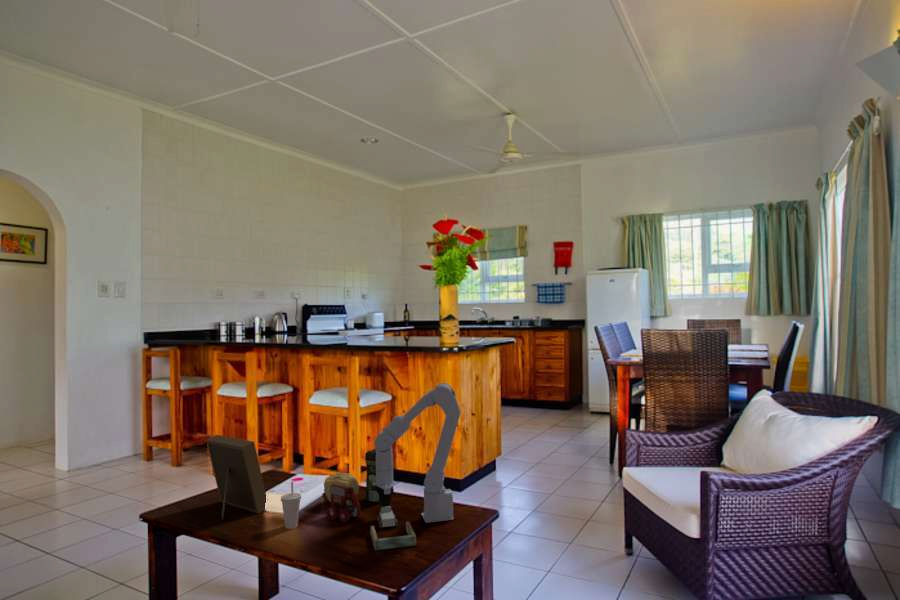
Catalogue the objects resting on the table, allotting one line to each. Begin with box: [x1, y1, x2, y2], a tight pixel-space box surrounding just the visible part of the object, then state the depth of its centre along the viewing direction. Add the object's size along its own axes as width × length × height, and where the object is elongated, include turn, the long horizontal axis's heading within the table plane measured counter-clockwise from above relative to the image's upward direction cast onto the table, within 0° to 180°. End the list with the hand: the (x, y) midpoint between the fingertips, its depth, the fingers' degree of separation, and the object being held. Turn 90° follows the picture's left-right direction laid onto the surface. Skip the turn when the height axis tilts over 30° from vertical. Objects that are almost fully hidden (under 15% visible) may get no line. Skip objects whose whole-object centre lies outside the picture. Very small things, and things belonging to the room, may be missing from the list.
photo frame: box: [205, 434, 267, 520], centre depth 185 cm, size 15×22×25 cm
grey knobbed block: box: [377, 505, 398, 529], centre depth 171 cm, size 6×7×4 cm
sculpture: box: [323, 472, 360, 503], centre depth 192 cm, size 11×12×11 cm
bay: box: [370, 521, 417, 551], centre depth 159 cm, size 12×12×2 cm
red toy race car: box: [326, 484, 362, 523], centre depth 177 cm, size 7×12×10 cm, turn 59°
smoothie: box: [280, 481, 302, 530], centre depth 170 cm, size 6×6×14 cm
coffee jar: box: [364, 448, 380, 504], centre depth 195 cm, size 10×8×19 cm
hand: (385, 509), depth 176 cm, fingers closed
